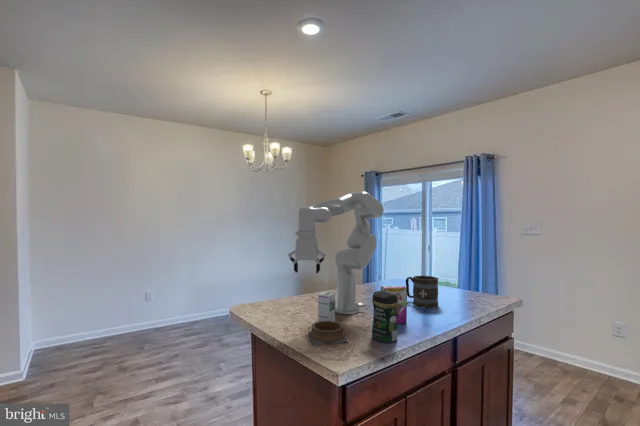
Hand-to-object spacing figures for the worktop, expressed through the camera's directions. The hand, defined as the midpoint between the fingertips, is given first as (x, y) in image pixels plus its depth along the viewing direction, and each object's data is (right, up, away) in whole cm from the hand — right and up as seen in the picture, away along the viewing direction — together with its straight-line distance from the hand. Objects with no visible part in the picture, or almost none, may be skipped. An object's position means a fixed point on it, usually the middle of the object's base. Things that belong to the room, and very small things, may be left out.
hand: (307, 272), depth 151 cm
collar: (+9, -23, -18) cm, 30 cm away
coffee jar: (+31, -23, -20) cm, 43 cm away
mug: (+62, -24, +34) cm, 74 cm away
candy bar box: (+39, -23, +1) cm, 46 cm away
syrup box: (+9, -23, -5) cm, 25 cm away
